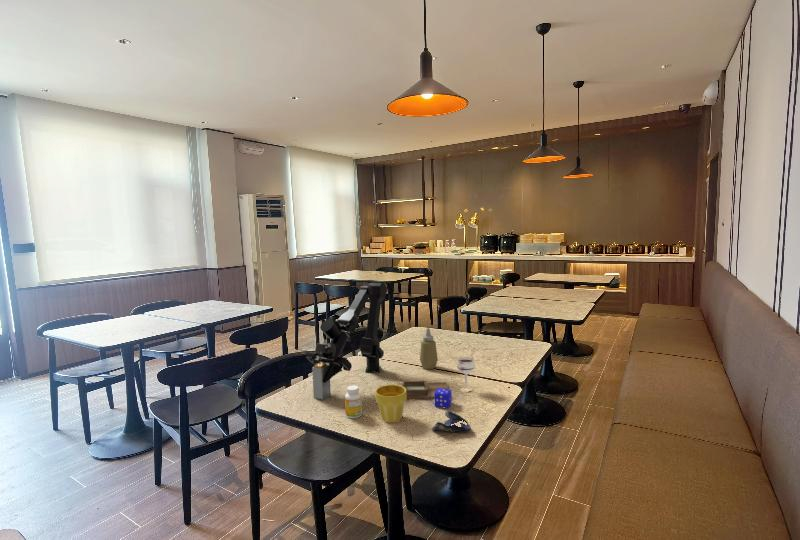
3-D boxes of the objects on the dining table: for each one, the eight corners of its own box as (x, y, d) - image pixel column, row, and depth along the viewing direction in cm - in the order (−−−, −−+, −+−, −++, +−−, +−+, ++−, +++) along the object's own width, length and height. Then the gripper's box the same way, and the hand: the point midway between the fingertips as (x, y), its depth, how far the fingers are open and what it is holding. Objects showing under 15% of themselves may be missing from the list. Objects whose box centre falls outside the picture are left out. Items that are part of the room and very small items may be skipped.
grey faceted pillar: (321, 393, 162) (320, 361, 161) (330, 396, 160) (329, 363, 158) (313, 398, 158) (312, 365, 157) (322, 400, 156) (321, 366, 155)
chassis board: (396, 385, 168) (396, 378, 168) (446, 384, 168) (446, 377, 168) (395, 399, 154) (395, 392, 154) (450, 398, 154) (450, 390, 154)
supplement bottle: (347, 411, 146) (346, 384, 145) (362, 411, 145) (361, 384, 144) (344, 418, 140) (343, 390, 139) (360, 418, 140) (359, 390, 139)
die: (448, 408, 146) (448, 394, 145) (434, 407, 148) (434, 393, 147) (451, 403, 151) (451, 389, 150) (438, 401, 152) (437, 388, 152)
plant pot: (382, 428, 133) (381, 398, 132) (371, 415, 142) (370, 387, 141) (412, 421, 137) (411, 392, 136) (399, 409, 146) (398, 382, 145)
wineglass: (478, 389, 162) (478, 359, 161) (468, 394, 157) (468, 363, 156) (463, 385, 167) (463, 356, 165) (453, 390, 162) (453, 360, 160)
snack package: (437, 419, 139) (427, 434, 128) (440, 401, 138) (430, 415, 127) (473, 430, 135) (465, 447, 124) (476, 411, 134) (469, 427, 123)
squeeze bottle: (441, 366, 190) (440, 327, 188) (432, 371, 183) (431, 331, 182) (425, 363, 195) (424, 325, 193) (416, 368, 188) (415, 329, 186)
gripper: (308, 331, 165) (289, 367, 156) (345, 337, 155) (327, 375, 147) (322, 346, 172) (304, 381, 164) (359, 352, 163) (342, 389, 154)
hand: (319, 381), depth 157 cm, fingers closed on grey faceted pillar, 4 cm apart
